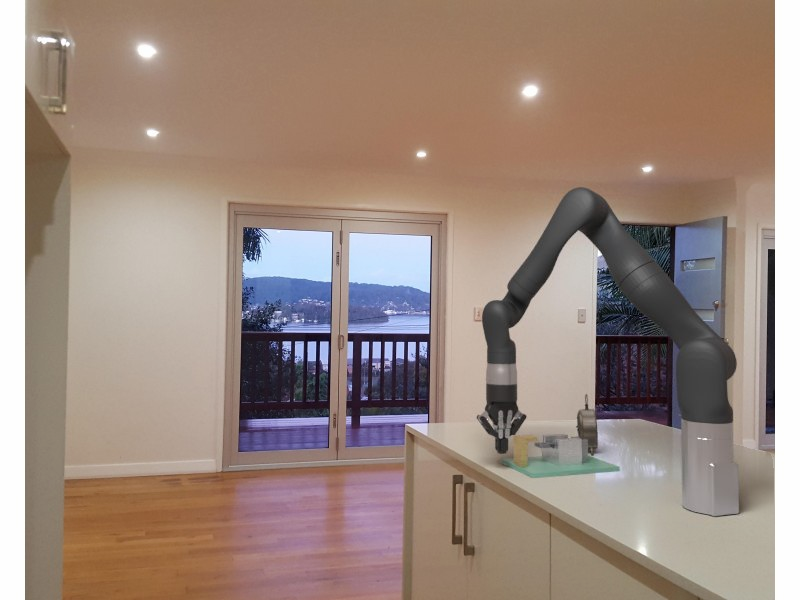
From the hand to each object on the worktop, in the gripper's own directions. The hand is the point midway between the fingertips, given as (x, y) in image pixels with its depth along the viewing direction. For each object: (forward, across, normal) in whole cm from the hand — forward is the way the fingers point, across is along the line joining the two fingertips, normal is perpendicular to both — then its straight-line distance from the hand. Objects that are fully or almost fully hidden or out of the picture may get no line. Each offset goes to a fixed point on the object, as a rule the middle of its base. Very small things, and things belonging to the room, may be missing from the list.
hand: (501, 453), depth 151 cm
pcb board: (+4, +16, 0) cm, 17 cm away
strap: (-1, +16, 0) cm, 16 cm away
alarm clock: (+5, +33, +13) cm, 36 cm away
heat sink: (+3, +18, 0) cm, 19 cm away
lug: (+3, +7, 0) cm, 7 cm away
